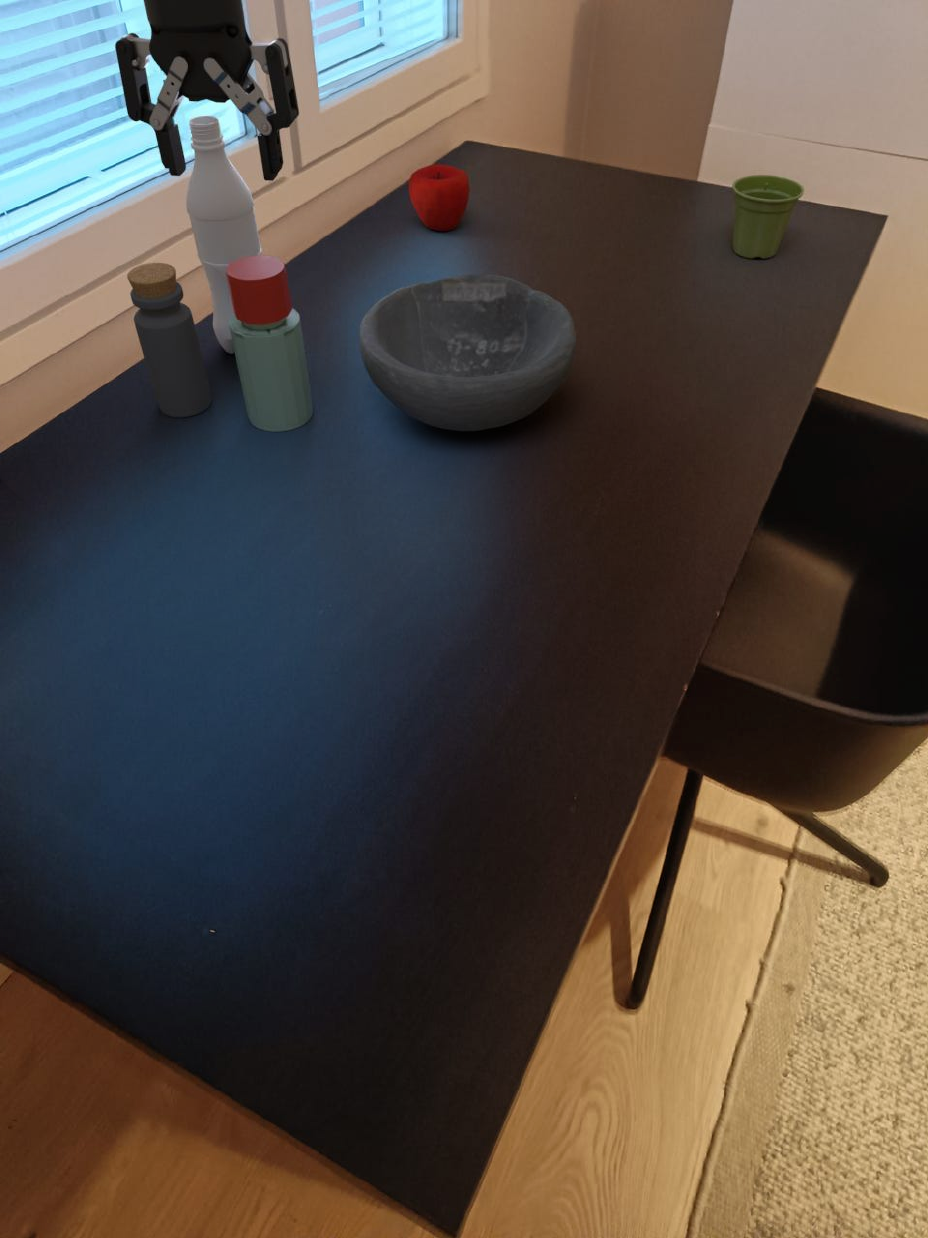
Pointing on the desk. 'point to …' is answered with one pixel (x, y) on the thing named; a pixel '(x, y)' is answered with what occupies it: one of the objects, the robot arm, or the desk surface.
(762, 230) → the plant pot
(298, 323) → the ceramic bottle
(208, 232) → the water bottle
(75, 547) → the desk surface
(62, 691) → the desk surface
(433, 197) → the apple
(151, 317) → the bottle
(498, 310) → the bowl
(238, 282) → the cap
